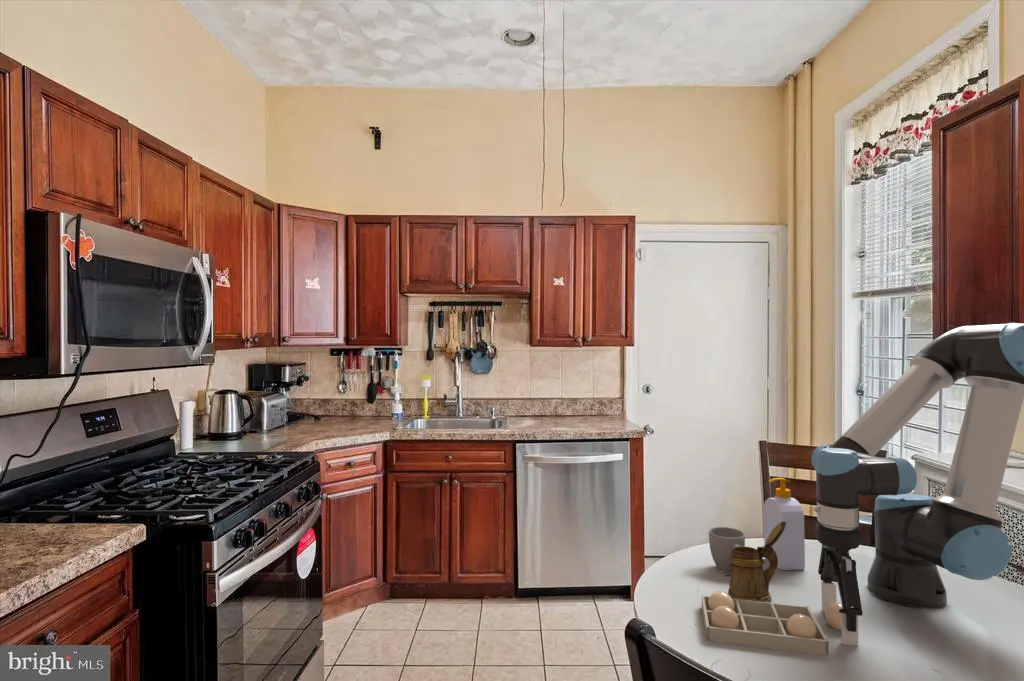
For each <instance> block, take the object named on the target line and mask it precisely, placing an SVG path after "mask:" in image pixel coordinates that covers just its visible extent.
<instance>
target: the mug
mask: <svg viewBox="0 0 1024 681" xmlns="http://www.w3.org/2000/svg"><path fill="white" fill-rule="evenodd" d="M708 541H709V542H708V543H709V549H710V553H711V556H712V561H713V562H714V564H715V568H716V570H717V571H720V572H722V573H727V574H730V571H731V562H730V555H731V553H732V548H733V547H737V546H746V536H745V533H744V531H742V530H740V529H737V528H733V527H728V526H727V527H726V526H717V527H712V528H710V529H709V530H708Z"/></svg>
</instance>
